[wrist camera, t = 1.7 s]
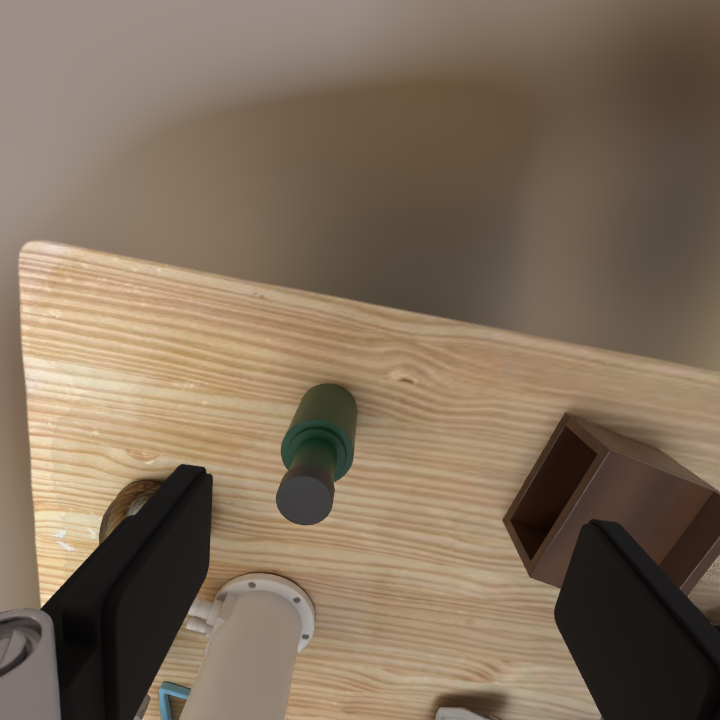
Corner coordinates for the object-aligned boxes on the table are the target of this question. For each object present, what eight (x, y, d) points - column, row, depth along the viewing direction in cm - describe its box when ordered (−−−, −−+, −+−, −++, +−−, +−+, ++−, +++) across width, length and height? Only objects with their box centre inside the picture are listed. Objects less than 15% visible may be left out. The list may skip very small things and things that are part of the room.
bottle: (292, 425, 42) (248, 521, 27) (311, 374, 41) (275, 448, 26) (345, 445, 43) (330, 550, 28) (366, 395, 41) (362, 480, 26)
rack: (502, 520, 44) (540, 600, 34) (565, 412, 41) (628, 466, 31) (590, 553, 45) (652, 640, 35) (659, 449, 42) (751, 513, 32)
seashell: (218, 480, 44) (186, 529, 36) (212, 549, 47) (180, 608, 39) (117, 462, 44) (63, 507, 36) (115, 533, 46) (65, 589, 39)
